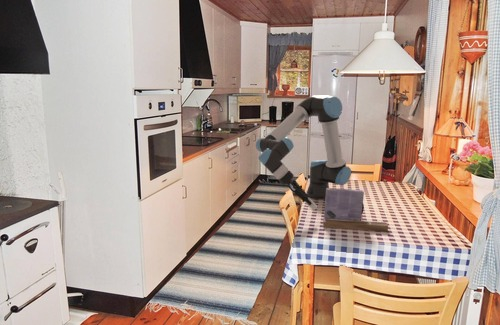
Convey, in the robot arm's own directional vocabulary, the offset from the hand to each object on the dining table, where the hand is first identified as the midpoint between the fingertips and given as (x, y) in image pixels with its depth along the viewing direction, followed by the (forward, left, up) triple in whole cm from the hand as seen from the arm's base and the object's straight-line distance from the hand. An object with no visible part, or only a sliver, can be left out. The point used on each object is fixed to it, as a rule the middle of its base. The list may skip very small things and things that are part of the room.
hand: (315, 208), depth 189 cm
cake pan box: (0, +14, -7) cm, 16 cm away
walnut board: (+5, +19, -7) cm, 21 cm away
